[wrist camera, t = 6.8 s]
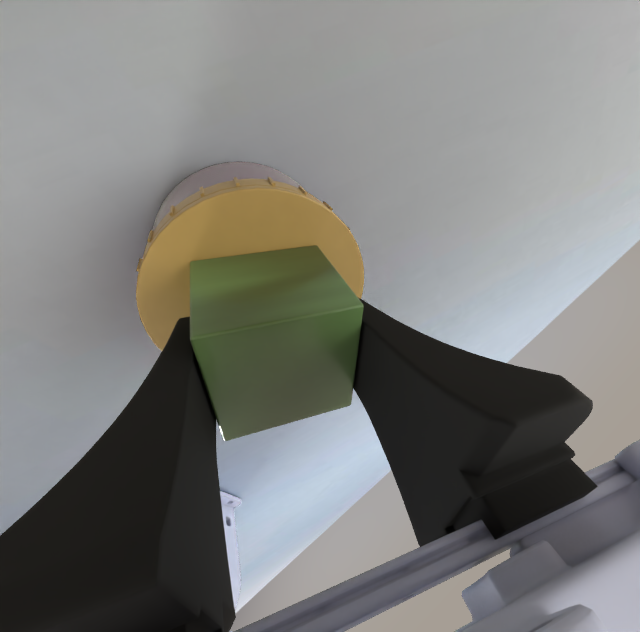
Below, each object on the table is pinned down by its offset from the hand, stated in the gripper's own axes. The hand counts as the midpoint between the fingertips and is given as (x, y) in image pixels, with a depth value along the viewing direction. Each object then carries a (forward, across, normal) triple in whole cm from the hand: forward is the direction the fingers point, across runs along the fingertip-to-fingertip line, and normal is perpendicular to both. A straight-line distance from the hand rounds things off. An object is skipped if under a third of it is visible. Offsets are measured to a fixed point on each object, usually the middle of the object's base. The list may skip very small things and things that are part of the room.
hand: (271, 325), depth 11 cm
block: (+1, 0, 0) cm, 1 cm away
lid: (+2, 0, 0) cm, 2 cm away
